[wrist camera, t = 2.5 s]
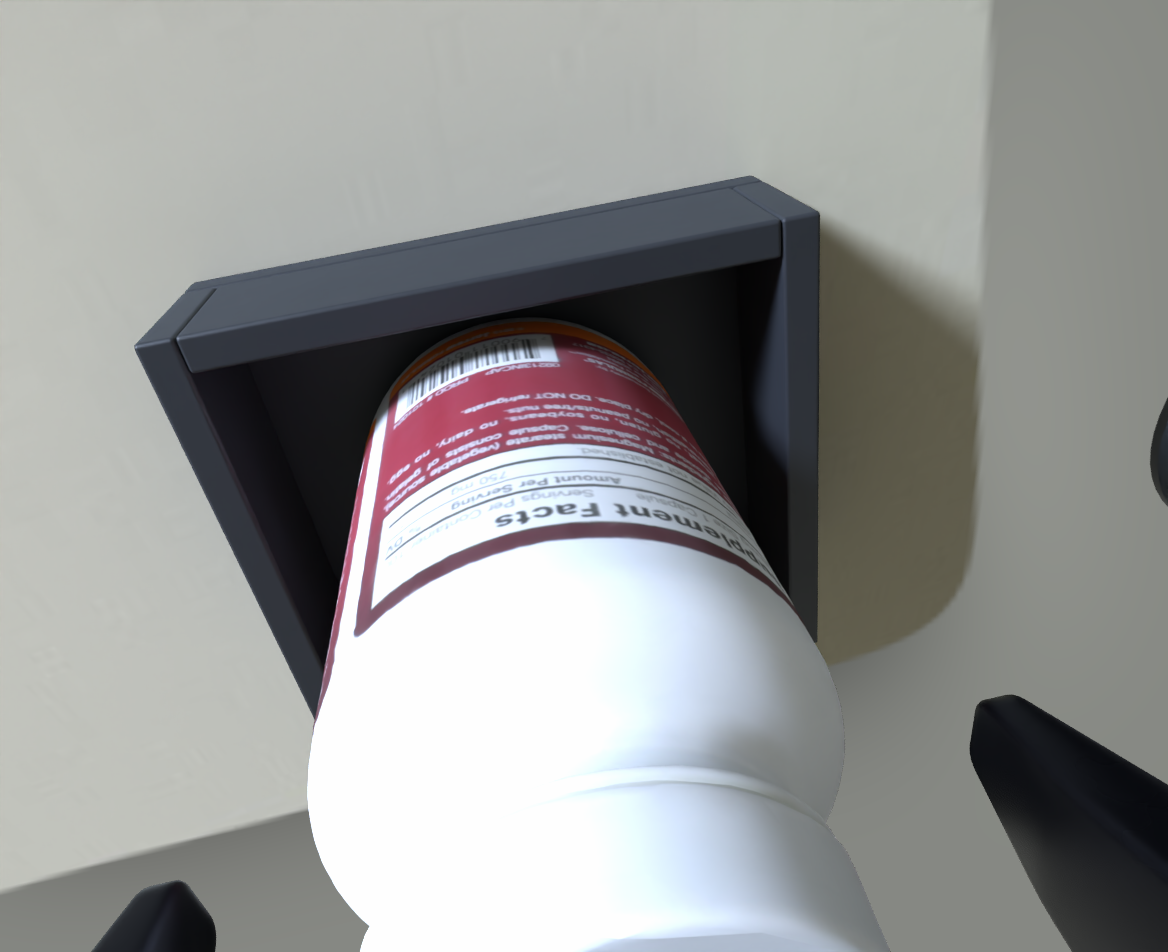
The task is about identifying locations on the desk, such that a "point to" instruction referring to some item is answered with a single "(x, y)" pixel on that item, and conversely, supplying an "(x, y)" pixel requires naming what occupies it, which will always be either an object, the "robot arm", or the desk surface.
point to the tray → (478, 295)
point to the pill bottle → (569, 678)
